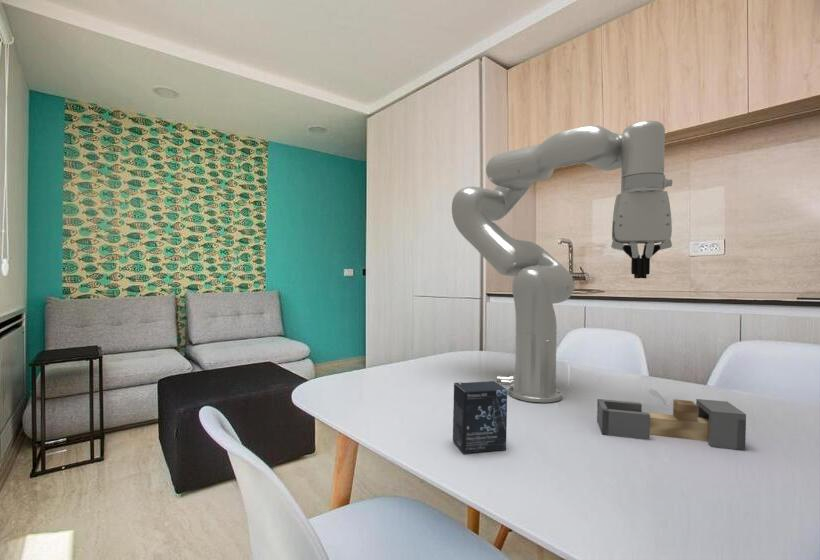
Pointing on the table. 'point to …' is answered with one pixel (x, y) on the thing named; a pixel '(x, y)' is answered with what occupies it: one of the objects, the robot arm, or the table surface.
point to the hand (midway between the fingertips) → (640, 278)
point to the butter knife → (657, 395)
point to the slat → (680, 422)
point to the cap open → (623, 419)
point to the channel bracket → (723, 424)
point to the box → (479, 416)
